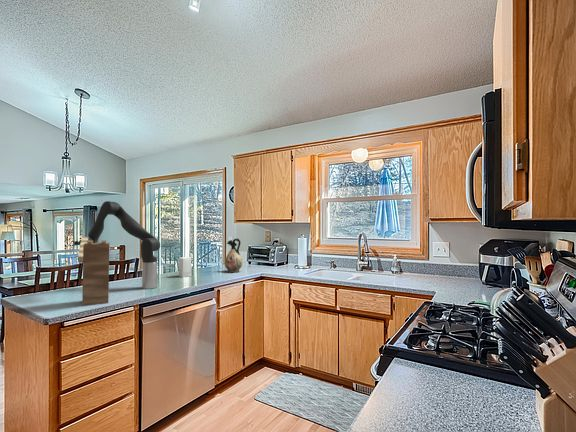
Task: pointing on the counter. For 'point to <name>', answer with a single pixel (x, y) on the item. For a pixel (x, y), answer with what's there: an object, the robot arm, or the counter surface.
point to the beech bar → (83, 241)
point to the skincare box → (184, 266)
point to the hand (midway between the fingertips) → (84, 242)
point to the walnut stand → (95, 273)
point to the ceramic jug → (233, 257)
